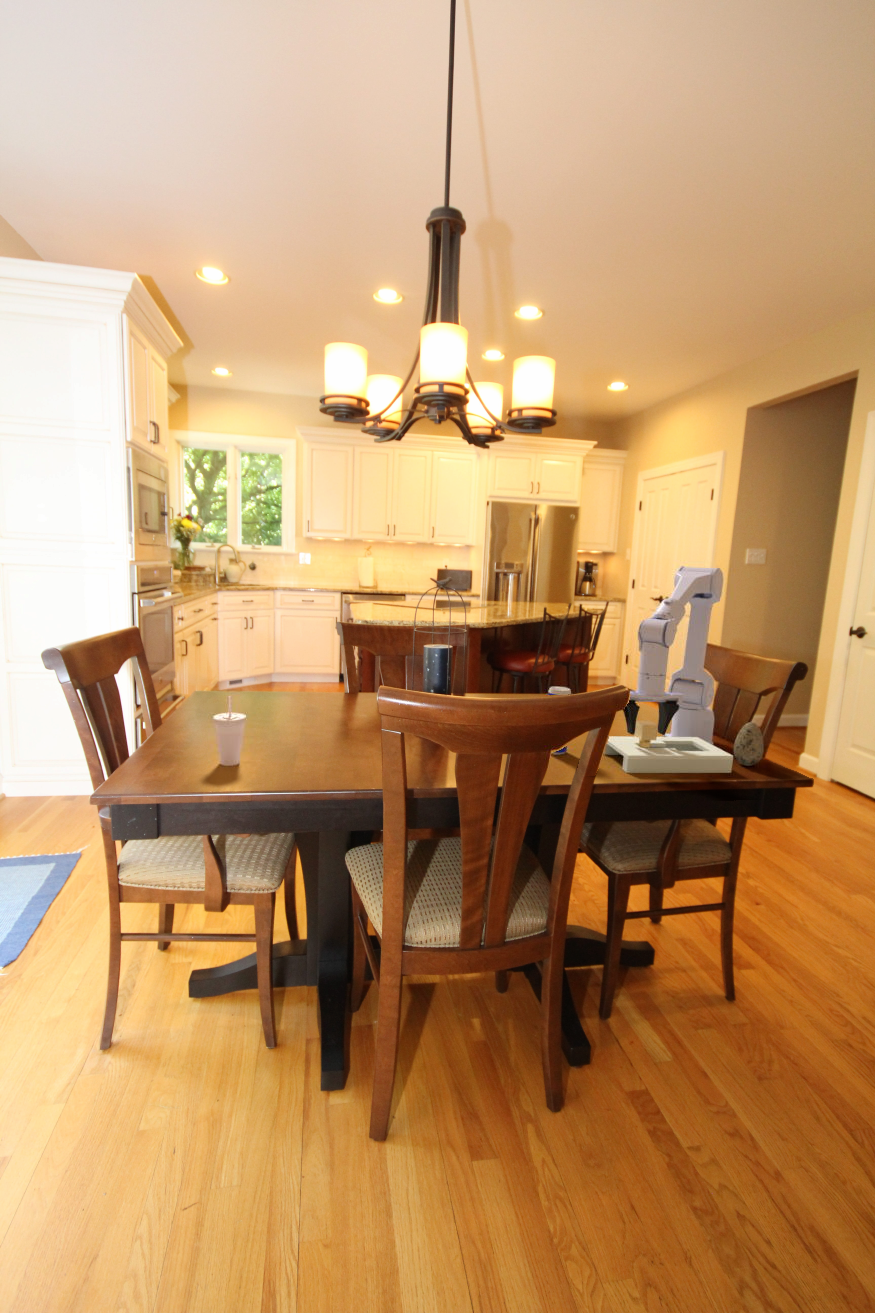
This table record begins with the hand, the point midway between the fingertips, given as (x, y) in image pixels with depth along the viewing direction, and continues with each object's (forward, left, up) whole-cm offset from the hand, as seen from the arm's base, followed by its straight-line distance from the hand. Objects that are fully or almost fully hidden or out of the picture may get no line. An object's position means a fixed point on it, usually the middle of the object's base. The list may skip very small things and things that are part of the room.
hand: (646, 733), depth 135 cm
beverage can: (+18, -7, -7) cm, 21 cm away
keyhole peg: (0, 0, -7) cm, 7 cm away
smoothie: (+89, +1, -7) cm, 89 cm away
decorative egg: (-24, +2, -7) cm, 25 cm away
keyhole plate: (-5, 0, -7) cm, 8 cm away
